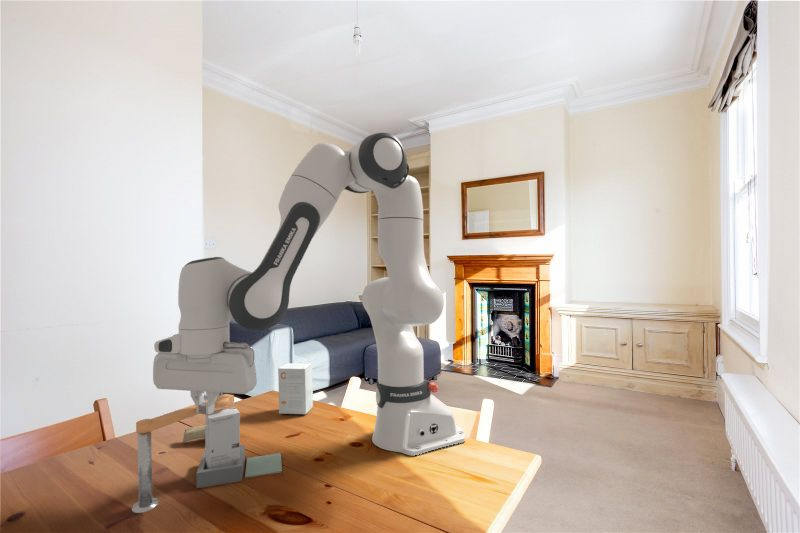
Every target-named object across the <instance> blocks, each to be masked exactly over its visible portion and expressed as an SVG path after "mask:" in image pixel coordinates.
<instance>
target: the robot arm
mask: <svg viewBox="0 0 800 533" xmlns="http://www.w3.org/2000/svg"><path fill="white" fill-rule="evenodd" d="M409 172H410V166H409V164H408V161H407V154H406V150H405V149H404V146H403V144H402V142H401V141H400V140H399V139H398V137H397V136H395V135H393V134H392V133H388V132H375V133H372V134H370V135H367V137H365V138H364V139H362V140H360V141H359V142H357V143H356V144H354V145H353V146H352V147H351V148H350V149H349V150H345V149H344V150H343V149H341V147H339V146H337V145H335V144H333V143H330V142H320V143H317V144H315V145H314V146H313V147H312V148H311V149H310V150H309V151H308V152H307V153H306V154H305V155H304V157H303V158H302V160H300V162H299V163H298V164H297V166H296V167H295V169H294V170H293V172H292V173H291V175H290V176H289V179H288V180H287V182H286V184H285V186H284V189H283V190H282V193H281V195H280V199H279V201H278V210H279V215H280V223H279V228H278V230H277V232H276V234H275V237H274V238H273V240H272V242H271V244H270V245H269V248H268V249H267V251H266V253H264V254H265V255H264V257H263V258H262V259H261V262H260V264H259V265H258V266H257V268H256V269H254V271H253V272H252V271H249V270H246V269H244V268H241V267H239V266H237V265H235V264H233V263H231V262H229V261H228V260H226V258H224V257H220V256H213V257H206V258H200V259H196V260H195V259H194V260H191V261H189V262H188V263H186V264H185V265H184V266H183V267H181V271H180V274H179V278H178V290H177V291H178V293H177V294H178V295H177V297H178V298H177V304H178V308H179V311H180V320H179V323H178V333H177V334H173V335H172V336H168V337H166V338H162V339H160V340H156V341H155V342H154V351H155V352H156V353H157V354H155V356H154V359H153V365H152V366H153V367H152V380H153V385H154V386H155V387H156V389H158V390H171V391H174V390H175V391H185V392H186V391H188V392H190V397H191V399H192V401H193V403H194V404H195V405H196V413H197V415H206V414H208V415H210V414H212V413H213V412H214V411H215V408H214V403H215V402H216V400H217V398H218V396H221V395H220V393H221V394H234V395H235V394H237V395H245V394H248V393H250V392H251V391H252V390H254V389H255V387H256V386H257V384H258V383H257V381H258V378H257V369H256V364H255V356H256V355H255V350H254V348H253V347H252V346H251V345H249V344H248V343H246V342H231V340H230V339H231V338H230V337H231V336H230V331H231V330H230V321H231V320H234V321H235V322H236V323H237V325H239V326H241V327H242V328H244V329H247V330H250V331H265V330H268V329H270V328H273V327H274V326H276V325H278V324H279V323H280V322H281V321H282V319H284V317H285V315H286V314H287V311H288V307H289V304H290V303H289V302H290V291H291V284H292V281H293V278H294V276H295V274H296V272H297V271H298V268H299V266H300V264H301V262H302V260H303V258H304V256H305V254H306V252H307V250H308V248H309V246H310V244H311V241H312V240H313V238H314V237H315V235H316V234H317V232H318V231H319V229H321V227H322V226H323V224H324V223H325V221H326V220H327V219H328V217H329V216H330V214H331V213H332V211H333V209H334V208H335V206H336V204H337V202H338V200H339V198H340V196H341V194H342V193H343V191H344V190H346V191H348V192H350V193H354V194H366V193H368V192H371V191H372V193H373V194H374V196H375V198H376V201H377V206H378V210H377V252H378V255H379V257H380V258H381V259H382V260H383V263H384V265H385V268H386V272H387V277H386V276H384V277H381V278H378V279H375V280H371V281H370V282H369V283H368V284H366V286H365V287H364V289H363V291H362V295H361V302H362V306H363V309H364V310H365V311H366V312H367V315H368V316H369V319H370V324H371V326H372V330H373V334H374V339H375V344H376V351H377V370H378V371H377V380H376V387H375V401H376V402H375V403H376V405H377V410H376V418H375V425H374V430H373V433H372V437H371V440H372V443H373V444H374V445H375V446H376V447H378V448H380V449H383V450H386V451H389V452H390V451H391V452H396V453H400V454H401V453H402V454H405V455H408V456H412V457H415V455H417V456H419V454H420V455H423V454H422V453H424V454H426V453H425V452H427V453H429V452H428V451H431V450H434V449H438V448H441V447H445V446H448V447H450V446H449V445H452V446H453V444H455V445H459V444H461V443H464V441H466V433H465V432H464V429H463V428H462V427H460V425H458V424H457V423H456V420H455V415H454V413H453V410H451V409H450V407H449V406H448V405H447V404H445V403H444V402H442V401H441V400H440V399H439V398H438V397H436V396H434V395H433V394H432V393H434V394H435V393H437V392H438V391H439V385H438V384H436V383H435V382H431V381H430V380H428V379H426V378H425V376H424V375H425V372H424V371H425V370H424V368H425V367H424V361H425V360H424V349H423V348H424V347H423V346H422V343H421V342H420V341H419V339H418V338H417V336H416V334H415V330H414V327H422V326H427V325H431V324H434V323H435V322H436V321H437V320H439V318H440V317H441V315H442V313H443V309H444V305H445V304H444V303H445V302H444V295H443V292H442V291H441V289H440V288H439V287H438V285H437V284H436V283H435V282H434V280H433V278H432V276H431V274H430V271H429V268H428V264H427V261H426V256H425V248H424V247H425V246H424V240H425V239H424V204H423V197H422V196H423V195H422V191H421V186H420V184H419V181H418V180H417V179H416V178H415V177H414V176H411V175H409ZM203 394H206V395H205V396H206V398H208V399H207V400H208V401H207V402H205V401H206V400H205V398H204V395H203ZM458 443H459V444H458ZM445 448H446V447H445ZM441 449H442V448H441ZM438 450H439V449H438ZM434 451H435V450H434ZM431 452H432V451H431Z"/></svg>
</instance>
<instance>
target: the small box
mask: <svg viewBox="0 0 800 533" xmlns="http://www.w3.org/2000/svg"><path fill="white" fill-rule="evenodd" d="M277 371H278V375H277V376H278V380H277V381H278V414H285V415H286V414H289V415H307V413H309V412H310V410H311V409H312V408H313V406H314V396H313V395H314V391H313V389H314V387H313V363H301V362H300V363H294V362H293V363H289V362H288V363H285V364H283V365H282V366H280V367H278V368H277Z"/></svg>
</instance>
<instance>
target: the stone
mask: <svg viewBox="0 0 800 533" xmlns="http://www.w3.org/2000/svg"><path fill="white" fill-rule="evenodd" d="M205 425H206V423H205V424H202V425H198V426H192V427H188V428H185V429H184V433H183V438H182V443H185V442H188V441H193V440H197V439H199V440H200V439H205Z"/></svg>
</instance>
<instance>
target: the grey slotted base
mask: <svg viewBox="0 0 800 533" xmlns="http://www.w3.org/2000/svg"><path fill="white" fill-rule="evenodd" d="M200 459H201V460H200V462H199V463H198V468H197V470H196V472H195V473H196V478H195V479H196V489H199V488H207V487H211V486H212V487H213V486H218V485H219V486H220V485H225V484H230V483H237V482H242V481H243V476H244V468H245V459H246V445H245V444H240V457H239V458H238V460H237V465H231V466H224V467H218V468H212V469H206V459H205V449H204V450H203V453H202V456H201V458H200Z"/></svg>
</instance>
